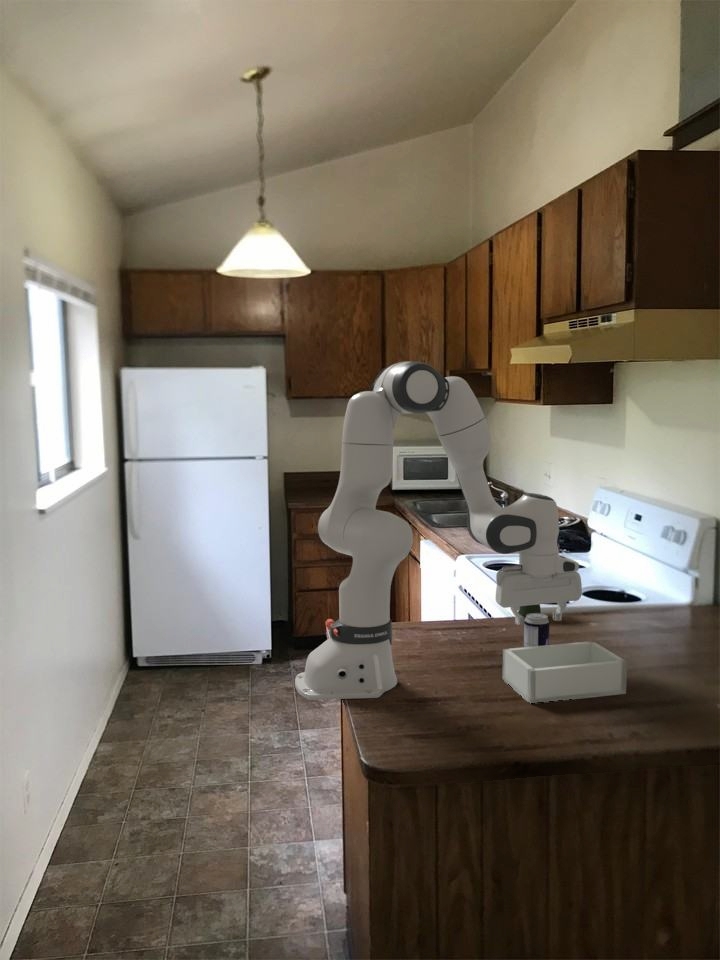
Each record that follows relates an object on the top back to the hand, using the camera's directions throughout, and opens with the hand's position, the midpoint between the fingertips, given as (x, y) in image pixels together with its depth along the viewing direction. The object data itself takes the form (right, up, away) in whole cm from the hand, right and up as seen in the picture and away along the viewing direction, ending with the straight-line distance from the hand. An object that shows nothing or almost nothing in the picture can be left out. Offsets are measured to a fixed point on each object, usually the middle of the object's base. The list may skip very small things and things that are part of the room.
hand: (538, 621), depth 184 cm
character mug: (+7, -6, +41) cm, 42 cm away
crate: (+3, -12, -12) cm, 17 cm away
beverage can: (0, -11, +1) cm, 11 cm away
